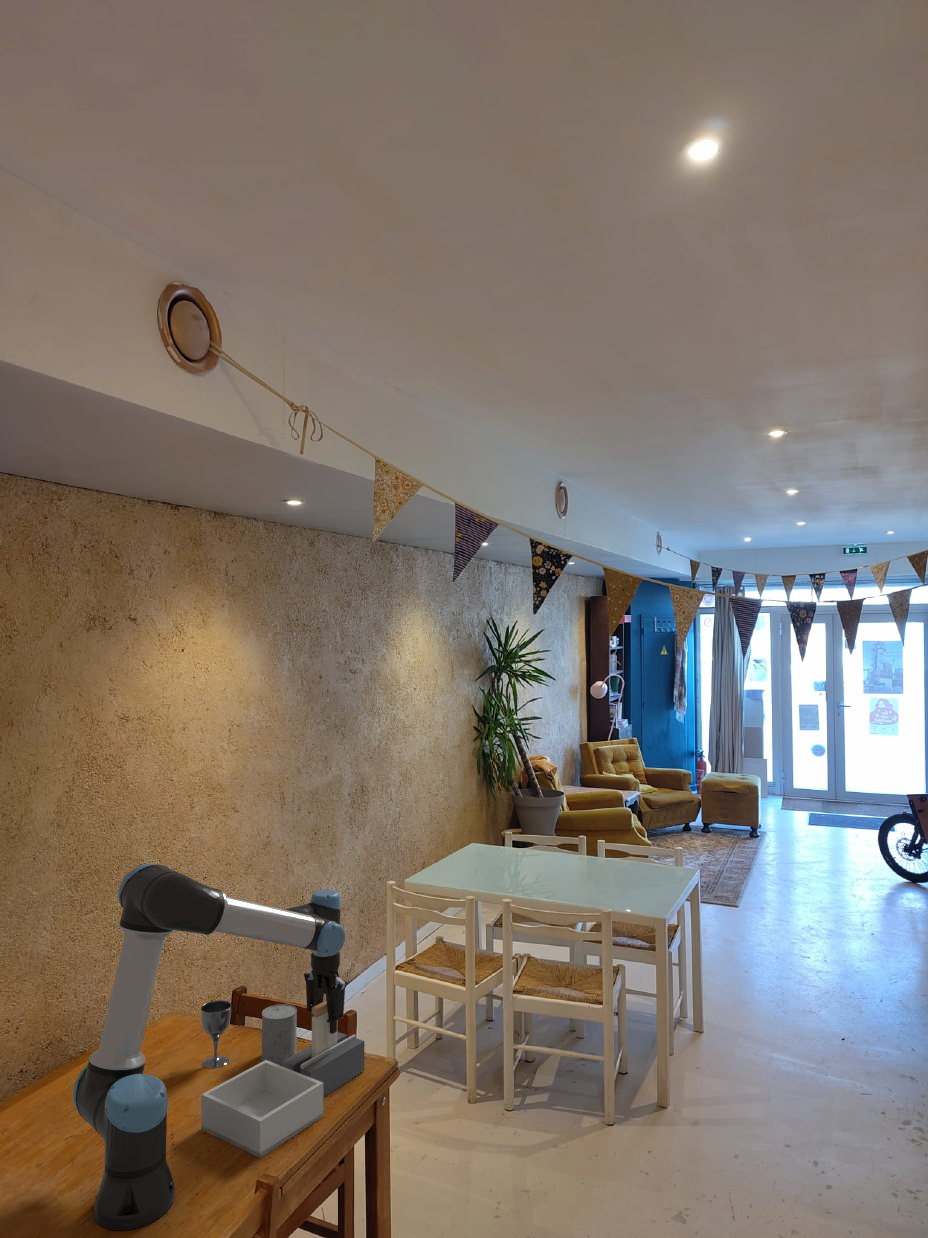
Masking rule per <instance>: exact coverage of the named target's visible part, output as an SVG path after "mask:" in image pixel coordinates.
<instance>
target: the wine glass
mask: <svg viewBox="0 0 928 1238" xmlns="http://www.w3.org/2000/svg"><path fill="white" fill-rule="evenodd" d="M231 1015H232V1003H231V1002H230V1001H228V1000H222V999H220V1000H219V999H218V1000H212V1001H208V1002H205V1003H204V1004H202V1005H201V1008H200V1020H201V1026H202V1029H203V1031H204V1032H205V1033H206V1035H208V1036H209V1038H211V1040H212V1043H213V1056H210V1057H207V1058H205V1059H203V1060H202V1062H201V1066H202V1067H203V1068H205V1069H209V1070H211V1069H214V1070H215V1069H218V1068H219V1069H220V1068H223V1067H224V1066H227V1065H228V1063H229V1062H230V1060H229V1057H227V1056H225V1055H218V1044H219V1040H220V1038H221V1036H222V1035H223V1034H224V1033H225V1032H226V1031H227V1030H228V1028H229V1025H230V1021H231V1017H232V1016H231Z"/></svg>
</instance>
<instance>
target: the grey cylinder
mask: <svg viewBox="0 0 928 1238" xmlns="http://www.w3.org/2000/svg"><path fill="white" fill-rule="evenodd" d="M297 1012H298V1009H297V1007H296V1006H294V1005H292V1004H285V1003H282V1004H281V1003H280V1004H273V1005H270V1006H268V1007H266V1008H264V1009H263V1010H262V1012H261V1057H260V1058H261V1062H263V1061H265V1060H267V1061H270V1062H272V1063H275V1064H277V1065H280V1066H283V1061H284V1060H286V1059H288V1058H289V1057H291V1056H293V1055H295V1054H297V1018H298V1017H297V1016H298V1015H297Z"/></svg>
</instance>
